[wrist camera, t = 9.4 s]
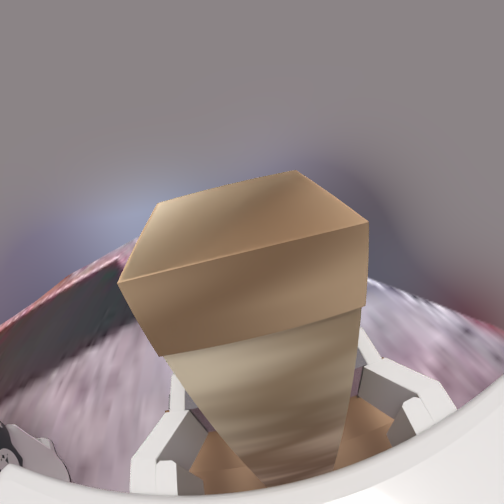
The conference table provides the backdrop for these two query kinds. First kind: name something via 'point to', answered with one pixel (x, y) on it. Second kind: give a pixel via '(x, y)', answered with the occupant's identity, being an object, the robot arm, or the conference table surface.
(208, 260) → the wooden key
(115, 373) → the conference table surface
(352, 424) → the toolbox
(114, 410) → the conference table surface
